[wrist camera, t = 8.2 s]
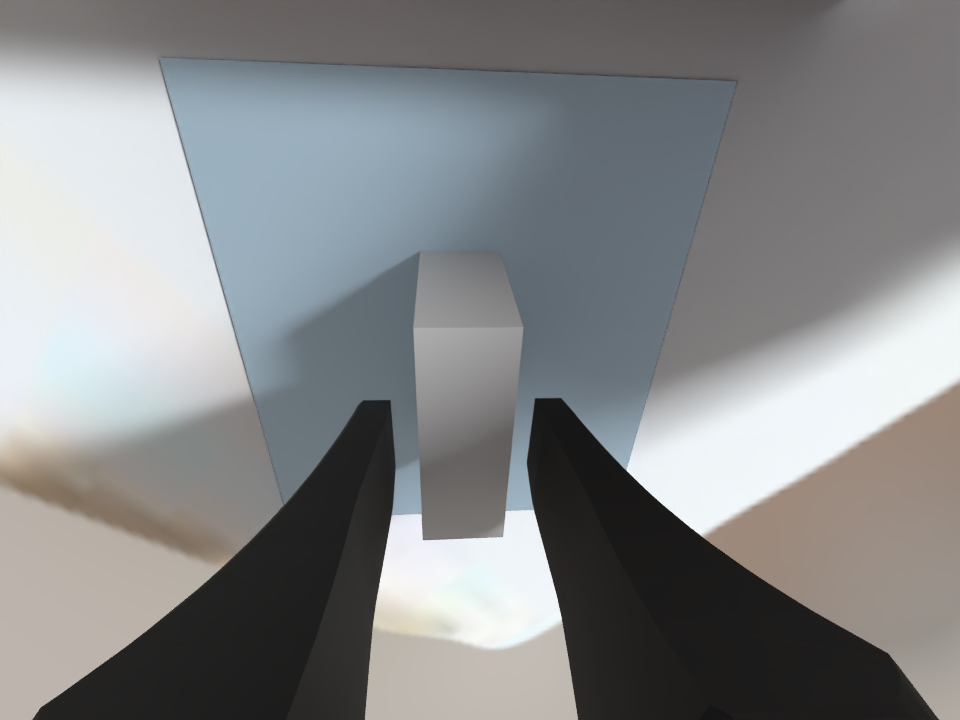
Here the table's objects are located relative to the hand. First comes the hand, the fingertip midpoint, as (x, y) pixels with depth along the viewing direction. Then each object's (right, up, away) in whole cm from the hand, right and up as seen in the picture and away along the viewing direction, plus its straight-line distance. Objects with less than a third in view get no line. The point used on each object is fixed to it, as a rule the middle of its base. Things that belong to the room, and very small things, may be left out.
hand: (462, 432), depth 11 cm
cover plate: (0, +2, +3) cm, 4 cm away
